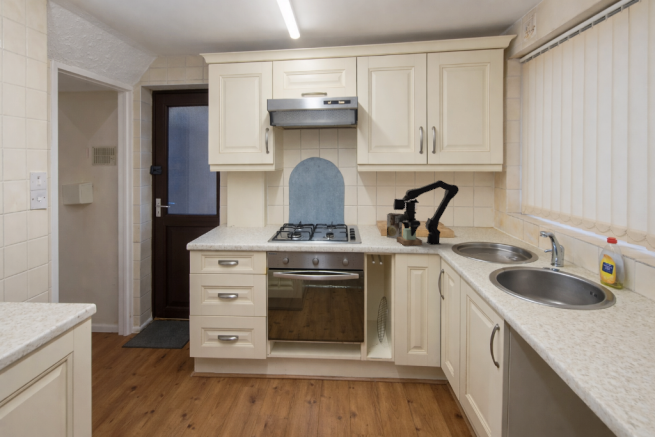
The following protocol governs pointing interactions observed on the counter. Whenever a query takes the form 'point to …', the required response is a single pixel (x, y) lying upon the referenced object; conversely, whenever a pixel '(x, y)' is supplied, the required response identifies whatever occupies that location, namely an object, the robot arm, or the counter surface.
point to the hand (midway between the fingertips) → (409, 234)
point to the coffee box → (393, 226)
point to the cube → (408, 234)
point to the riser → (409, 241)
